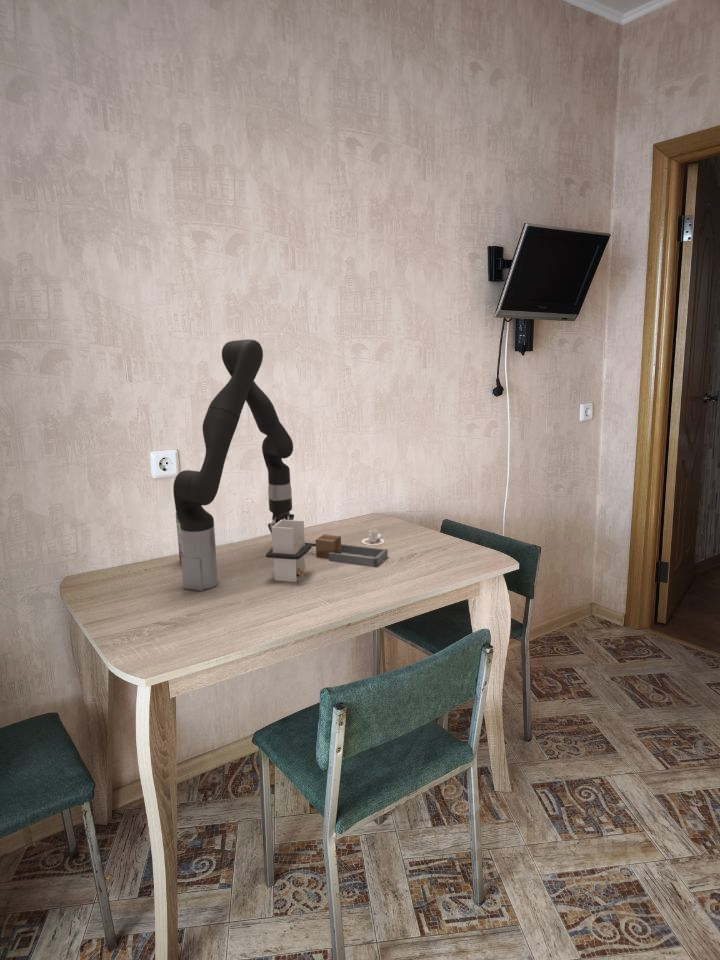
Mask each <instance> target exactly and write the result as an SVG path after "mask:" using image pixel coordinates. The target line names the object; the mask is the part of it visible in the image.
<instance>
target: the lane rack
mask: <svg viewBox="0 0 720 960" xmlns="http://www.w3.org/2000/svg"><path fill="white" fill-rule="evenodd" d="M388 552H389V549H387V548H380V547H379V548H377V547H369V546H361V545H353V544H346V543H341V554H340V553H332V552H330V553H329V559H328V561H329V562H335V563H336V562H337V563H343V564H350V565H358V566H366V567H373V568H377V567H378V566H379V565H381V564H382V563H383V562H384V561H385V560H386V559H387V558H388Z"/></svg>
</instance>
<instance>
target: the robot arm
mask: <svg viewBox="0 0 720 960" xmlns="http://www.w3.org/2000/svg"><path fill="white" fill-rule="evenodd" d="M263 358H264V350H263V347H262V345H261V344H260V342H259V341H257V340H256V339H240V340H238V339H237V340H230V341H228V342H226V343H225V344H224V345H223V347H222V349H221V360H222V362H223V365H224V367H225V368H226V371H227V372H228V374H229V375H230V379H229V380H228V382H227V383H226V384H225V386H223V388H221V390H220V391H219V392H218V393H217V394H216V395H215V397H214V398H213V399H212V400H211V401H210V404H209V406H208V408H207V411H206V414H205V416H204V419H203V423H202V435H203V440H204V446H205V454H204V455H205V456H204V460H203V463H202V466H201V468H200V470H199V471H198V470H191V469H190V470H188V469H187V470H186V469H185V470H182V471H180V472H179V473H178V474H177V475H176V476H175V477H174V478H175V479H174V481H173V486H172V487H173V488H172V490H173V500H174V507H175V508H174V509H175V516H176V515H177V519H178V521H179V523H180V527H181V538H182V551H183V556H182V557H181V562H180V563H181V574H182V585H183V589H185V590H186V589H187V590H192V591H193V590H194V591H198V592H202V591H204V590H208V589H212V588H215V586H217V585H218V584H219V575H218V573H219V572H218V563H217V561H218V559H217V558H218V557H217V546H216V533H215V531H216V530H215V520H214V516H213V515H212V514H211V513H209V511H207V510H205V508H204V507H203V506H208V505H210V504H211V503H212V502H214V500H215V498H216V496H217V494H218V491H219V487H220V485H221V484H220V483H221V480H222V476H223V470H224V466H225V462H226V459H227V456H228V453H229V449H230V446H231V443H232V441H233V438H234V435H235V432H236V430H237V427H238V425H239V424H238V423H239V421H240V417H241V416H242V415H241V414H242V411H243V407H244V406H245V403H247V405H248V407H249V409H250V412H251V414H252V417H253V419H254V422H255V424H256V427H257V428H258V430H259V432H260V433H261V434H264V435H265V436H266V437H264V438H263V441H262V445H261V452H262V456H263V459H264V463H265V467H266V469H267V479H268V481H267V482H268V490H267V492H268V493H267V495H268V510H269V511H270V513H272V517H271V519H272V521H271V523H270V522H269V523H268V524H267V527H268V529H269V532H270V534H271V535H272V526H274V525H275V524H276V523H278V522H279V521H280V520H295V519H294V517H295V514H293V513H291V511H293V495H292V487H291V470H290V467H289V466H288V465H287V464H286V463H284V461H283V459H288V458H290V456H291V455H292V454H293V452H294V442H293V439H292V438H291V436H290V434H289V433H288V431H287V430H286V428H285V427H284V426H283V424H282V423H281V422H280V419H279V416H278V414H277V411H276V409H275V406H274V404H273V401H271V399H270V397H268V395H267V394H266V393H265V392H264V391H263V390H262V388H260V387H259V385H257V383H256V382H255V379H256V377H257V376H258V373H259V371H260V369H261V366H262V362H263Z"/></svg>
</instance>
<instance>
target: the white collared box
mask: <svg viewBox="0 0 720 960" xmlns="http://www.w3.org/2000/svg"><path fill="white" fill-rule="evenodd" d="M271 542H272V543H271V544H272V546H271V549H269V550H268V551H267V552H266V553H265V557H266V558H269V559H273V571H274V573H273V575H274V581H280V582H281V581H282V582H291V583H292V582H294V583H297V575H298V577H303V576H304V575H305V574H306V570H307V569H306V554H307V553H308V552H309V551H310V550H312V547H313V546H311V544H305V543H306V542H305V521H304V520H297V519H296V520H295V519H293V520H280V521H279V522H278V523H276V524H275V525H274V526H272V534H271Z"/></svg>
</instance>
